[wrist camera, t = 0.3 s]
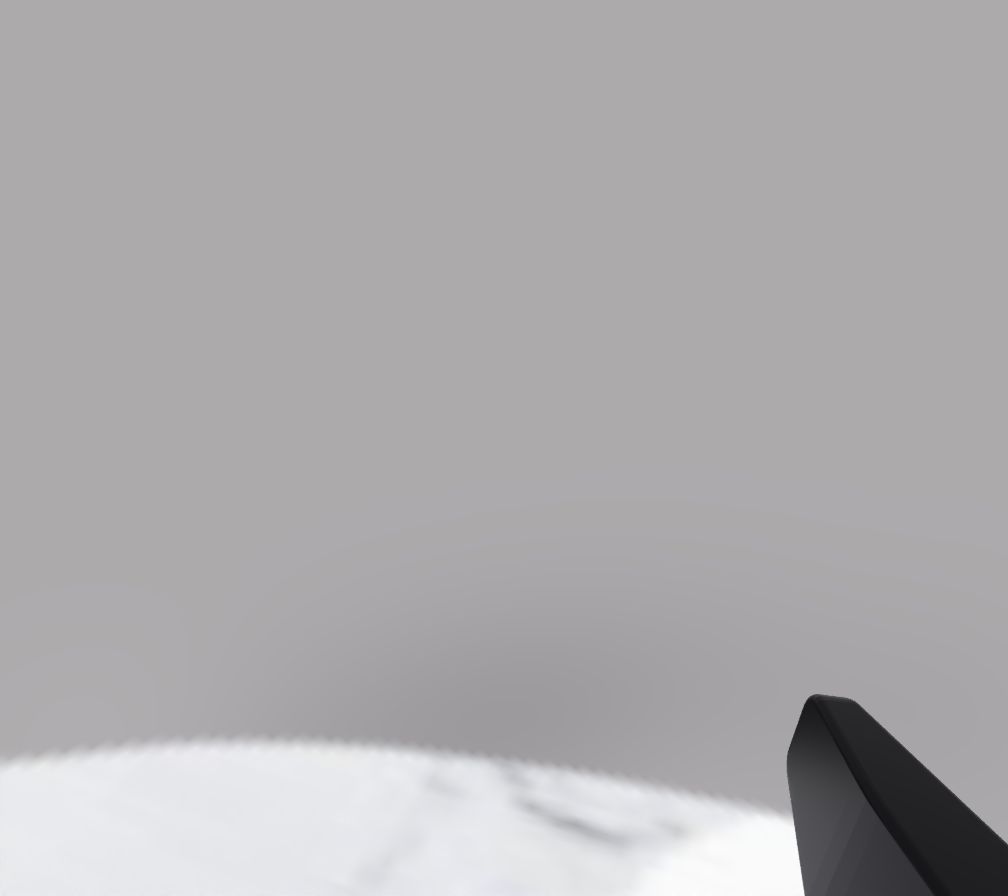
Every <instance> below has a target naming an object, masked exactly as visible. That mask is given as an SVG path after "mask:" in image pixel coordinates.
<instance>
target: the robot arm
mask: <svg viewBox="0 0 1008 896" xmlns="http://www.w3.org/2000/svg"><path fill="white" fill-rule="evenodd" d="M787 777H788V784H789V791H790V798H791V804H792V812H793V819H794V825H795V832H796V839H797V846H798V853H799V860H800V867H801V874H802V880H803V887H804V894H805V896H1008V844H1007V843H1006V842H1005V841H1004V840H1002V839H1001V838H1000V837H999V836H998V835H997V834H996V833H995V832H994V831H993V830H992V829H991V828H990V827H989V826H987V825H986V824H985V823H984V822H983V821H982V820H981V819H980V818H979V817H978V816H977V815H976V814H975V813H974V812H973V811H971V810H970V808H968V807H967V806H966V805H965V804H964V803H963V802H962V801H961V800H960V799H959V798H958V797H957V796H956V795H955V794H954V793H952V792H951V791H950V790H949V789H948V788H947V787H946V786H945V785H944V784H943V783H942V782H941V781H940V780H939V779H938V778H937V777H935V776H934V775H933V774H932V773H931V772H930V771H929V770H928V769H927V768H926V767H925V766H924V765H923V764H922V763H921V762H920V761H919V760H917V759H916V758H915V757H914V756H913V755H912V754H911V753H910V752H909V751H908V750H907V749H906V748H905V747H904V746H902V744H900V743H899V742H898V741H897V740H896V739H895V738H894V737H893V736H892V735H891V734H890V733H889V732H888V731H887V730H886V729H885V728H883V727H882V726H881V725H880V724H879V723H878V722H877V721H876V720H875V719H874V718H873V717H872V716H871V715H870V714H868V713H867V712H866V711H865V710H864V709H863V708H862V707H861V706H860V705H859V704H858V703H856V702H855V701H853V700H851V699H848V698H844V697H836V696H828V695H820V694H815V695H812V696H810V697H809V698H808V699H807V701H806V703H805V704H804V707H803V710H802V713H801V715H800V718H799V721H798V724H797V727H796V730H795V733H794V735H793V738H792V741H791V744H790V747H789V750H788V755H787Z"/></svg>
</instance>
